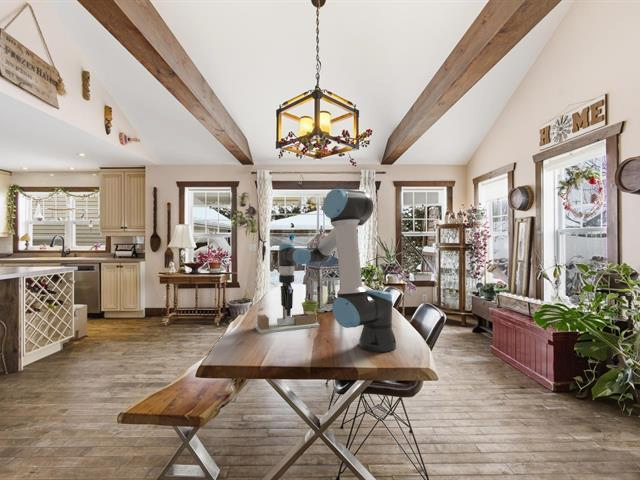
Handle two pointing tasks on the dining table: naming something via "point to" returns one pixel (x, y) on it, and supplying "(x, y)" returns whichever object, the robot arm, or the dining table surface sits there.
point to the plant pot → (309, 306)
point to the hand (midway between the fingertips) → (286, 321)
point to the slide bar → (282, 320)
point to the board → (300, 322)
